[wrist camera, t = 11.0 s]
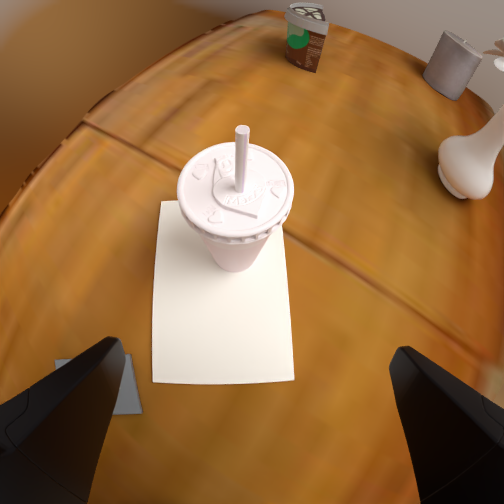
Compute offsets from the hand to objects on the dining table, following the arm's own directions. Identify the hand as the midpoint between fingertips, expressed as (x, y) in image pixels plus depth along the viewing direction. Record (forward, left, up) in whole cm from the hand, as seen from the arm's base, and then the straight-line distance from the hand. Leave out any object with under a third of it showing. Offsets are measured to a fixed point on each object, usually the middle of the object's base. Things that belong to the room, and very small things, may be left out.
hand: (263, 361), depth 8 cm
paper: (+6, +2, -14) cm, 15 cm away
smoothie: (+9, +1, -13) cm, 16 cm away
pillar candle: (+47, -44, -14) cm, 66 cm away
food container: (+44, -10, -14) cm, 47 cm away
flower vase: (+18, -29, -14) cm, 37 cm away
